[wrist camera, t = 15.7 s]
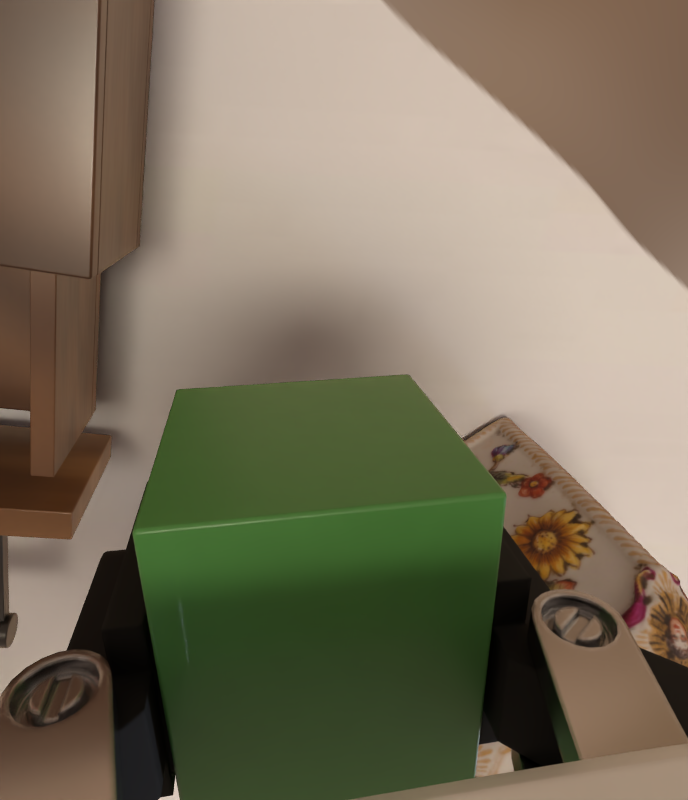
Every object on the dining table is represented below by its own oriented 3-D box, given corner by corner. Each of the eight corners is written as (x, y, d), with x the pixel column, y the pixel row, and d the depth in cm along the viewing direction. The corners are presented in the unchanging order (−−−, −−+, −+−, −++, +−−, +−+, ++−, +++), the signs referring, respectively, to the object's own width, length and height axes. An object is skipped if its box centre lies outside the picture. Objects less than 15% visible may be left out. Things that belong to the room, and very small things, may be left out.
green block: (175, 388, 10) (130, 530, 6) (409, 373, 11) (509, 494, 7) (210, 658, 13) (195, 889, 9) (400, 632, 13) (470, 836, 9)
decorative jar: (326, 518, 32) (413, 886, 15) (503, 406, 31) (794, 669, 15) (425, 642, 37) (573, 1026, 20) (581, 548, 36) (868, 868, 19)
